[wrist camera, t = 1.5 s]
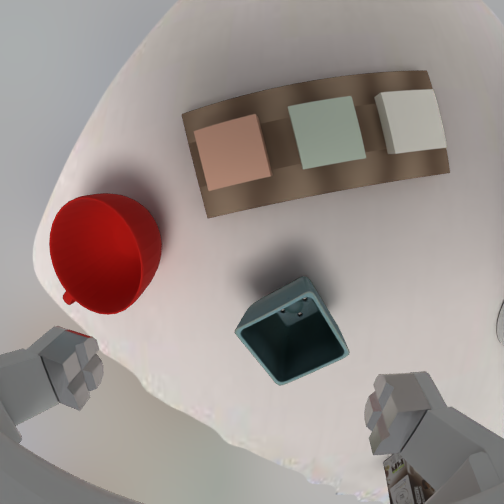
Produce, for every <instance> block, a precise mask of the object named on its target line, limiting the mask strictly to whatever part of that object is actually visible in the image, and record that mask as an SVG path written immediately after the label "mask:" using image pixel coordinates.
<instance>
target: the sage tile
mask: <svg viewBox="0 0 504 504" xmlns="http://www.w3.org/2000/svg"><path fill="white" fill-rule="evenodd" d="M288 112H289V116H290V120H291V124H292V128H293V132H294V136H295V140H296V144H297V148H298V152H299V156H300V161H301V165H302V169H308V168H314V167H319V166H324V165H329V164H335V163H341V162H346V161H352V160H358V159H364V158H366V154H365V149H364V145H363V140H362V136H361V132H360V127H359V123H358V119H357V115H356V111H355V108H354V104H353V100H352V97H351V96H346V97H339V98H332V99H326V100H320V101H314V102H308V103H303V104H298V105H293V106H288Z"/></svg>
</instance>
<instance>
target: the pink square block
mask: <svg viewBox="0 0 504 504" xmlns="http://www.w3.org/2000/svg"><path fill="white" fill-rule="evenodd" d="M194 135H195V139H196V143H197V147H198V151H199V155H200V159H201V163H202V167H203V171H204V175H205V179H206V183H207V187H208V190H209V191H211V190H215V189H219V188H223V187H227V186H231V185H235V184H240V183H244V182H248V181H252V180H257V179H261V178H266V177H270V176H272V171H271V166H270V162H269V158H268V154H267V150H266V146H265V142H264V138H263V134H262V130H261V126H260V122H259V118H258V116H257V115H256V114H253V115H249V116H245V117H241V118H237V119H233V120H230V121H226V122H222V123H219V124H215V125H212V126H209V127H205V128H202V129H199V130H196V131H194Z"/></svg>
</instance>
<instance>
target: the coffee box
mask: <svg viewBox="0 0 504 504" xmlns="http://www.w3.org/2000/svg"><path fill="white" fill-rule="evenodd" d="M383 464H384V469H385V474H386V480H387V485H388V492H389V498H390V504H425V502H426V501H427V500H428V499H429V498H430V497H431V496H432V495H433V494H434V493H435V492H437V491H436V490H435V489H434V488H433V487H432V486H431V485H430V484H429V483H428V482H427V481H426V480H425V479H424V478H423V477H422V476H421V475H420V474H419V473H418V472H417V471H416V470H415V469H414V468H413V467H412V466H411V465H410V464H409V463H408V462H407V461H406V460H405V459H404V458H403V457H402V456H401V455H400V453H395V454H393V455H392V456H391V457H390V458H388V459H387V460H386V461H385V462H384V463H383Z"/></svg>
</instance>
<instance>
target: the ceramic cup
mask: <svg viewBox="0 0 504 504" xmlns="http://www.w3.org/2000/svg"><path fill="white" fill-rule="evenodd" d="M49 245H50V255H51V260H52V264H53V267H54V270H55V272H56V275H57V277H58V279H59V281H60V282H61V284H62V286H63V287H64V288H65V290H66V292H65V293H64V295H63V300H64V301H65V302H66V303H67V304H68V305H71V304H72V303H74V302H75V301H76V302H78V303H79V304H80V305H82V306H83V307H85V308H87V309H88V310H90V311H93V312H96V313H99V314H116V313H119V312H121V311H124V310H126V309H127V308H128V307H129V306H131V305H132V304H133V303H134V302H135V301H136V300H137V299H138V298H139V297H140V295H141V294H142V293H143V292H144V290H145V289H146V288H147V286H148V285H149V284H150V282H151V281H152V279H153V277H154V275H155V273H156V271H157V268H158V266H159V262H160V257H161V247H162V243H161V235H160V232H159V229H158V226H157V224H156V222H155V220H154V218H153V217H152V215H151V214H150V213H149V211H148V210H147V209H146V208H145V207H144V206H142V205H141V204H140V203H138V202H136V201H135V200H133V199H131V198H128V197H125V196H123V195H117V194H108V193H103V194H93V195H87V196H81V197H78V198H75V199H73V200H71V201H69V202H68V203H67V204H65V205H64V206H63V207H62V208H61V209H60V211H59V212H58V213H57V215H56V217H55V219H54V221H53V224H52V227H51V232H50V242H49Z"/></svg>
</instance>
